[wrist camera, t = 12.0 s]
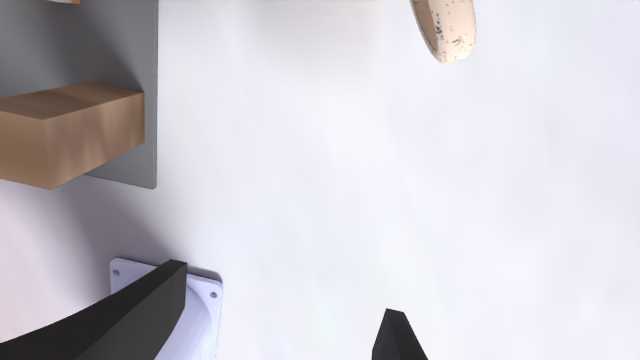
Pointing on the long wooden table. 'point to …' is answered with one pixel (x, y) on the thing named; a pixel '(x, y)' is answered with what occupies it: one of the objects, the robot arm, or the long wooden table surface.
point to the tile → (67, 1)
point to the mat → (86, 61)
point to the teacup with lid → (446, 27)
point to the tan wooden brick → (67, 131)
